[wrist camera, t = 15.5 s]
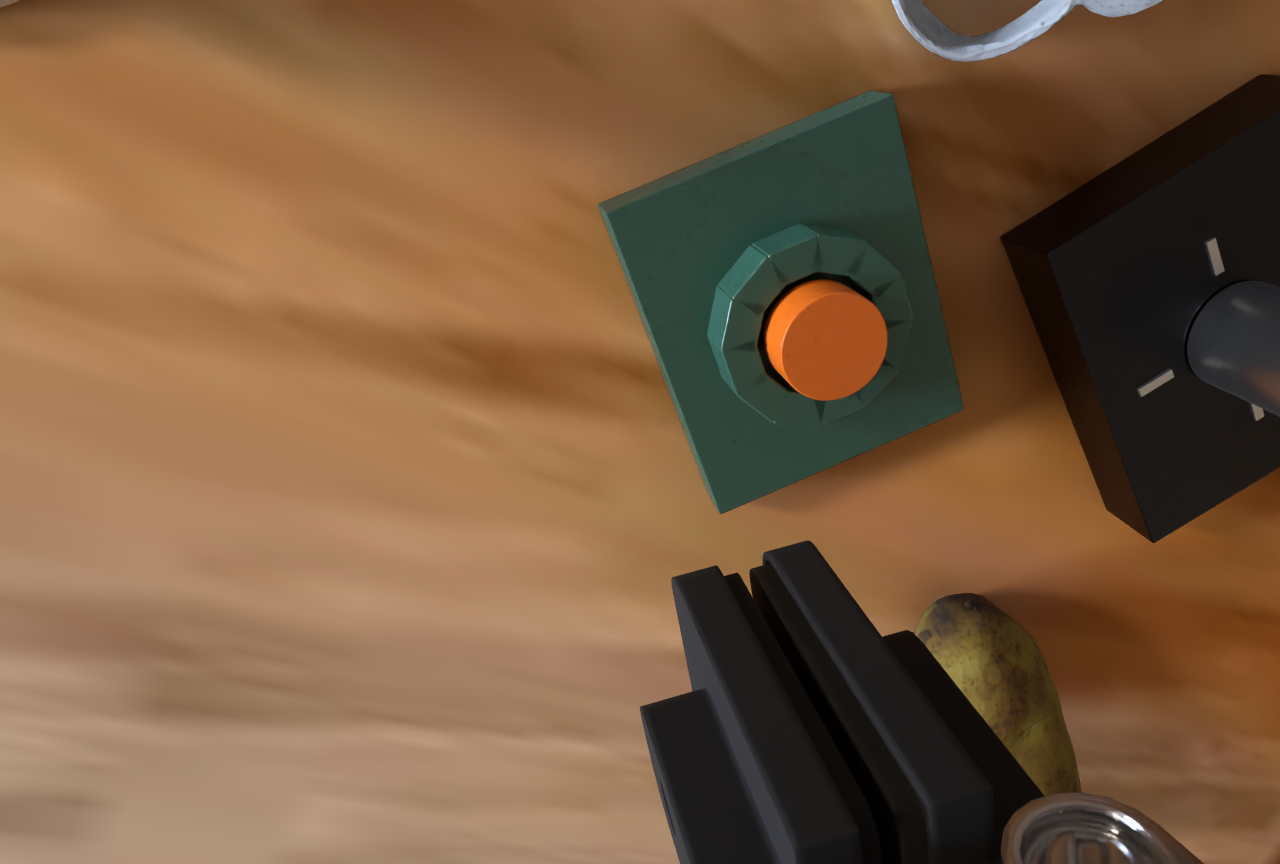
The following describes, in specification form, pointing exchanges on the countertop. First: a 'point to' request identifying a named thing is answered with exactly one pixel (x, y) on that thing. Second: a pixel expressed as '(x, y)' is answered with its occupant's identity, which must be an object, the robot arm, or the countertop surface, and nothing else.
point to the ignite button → (825, 339)
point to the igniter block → (768, 268)
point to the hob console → (1160, 308)
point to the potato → (1004, 684)
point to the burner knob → (1240, 343)
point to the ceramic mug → (1009, 37)
